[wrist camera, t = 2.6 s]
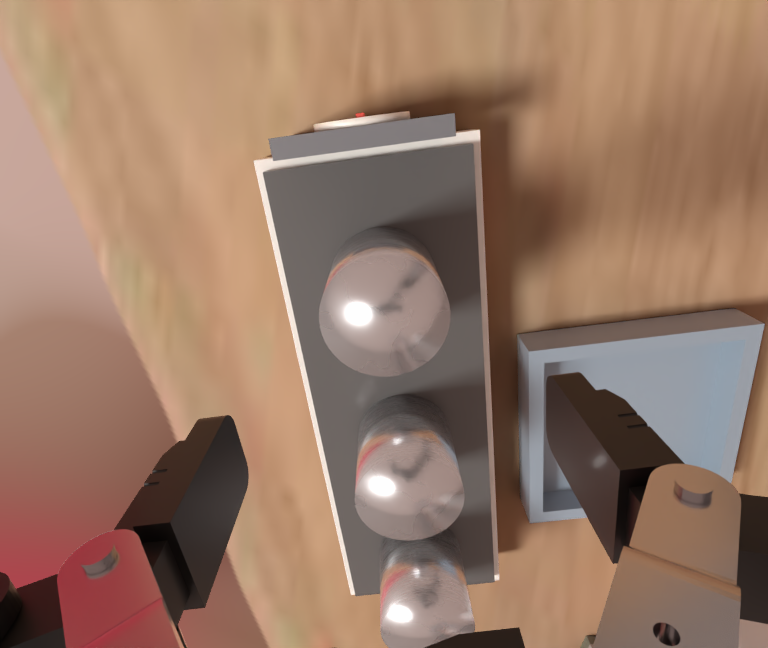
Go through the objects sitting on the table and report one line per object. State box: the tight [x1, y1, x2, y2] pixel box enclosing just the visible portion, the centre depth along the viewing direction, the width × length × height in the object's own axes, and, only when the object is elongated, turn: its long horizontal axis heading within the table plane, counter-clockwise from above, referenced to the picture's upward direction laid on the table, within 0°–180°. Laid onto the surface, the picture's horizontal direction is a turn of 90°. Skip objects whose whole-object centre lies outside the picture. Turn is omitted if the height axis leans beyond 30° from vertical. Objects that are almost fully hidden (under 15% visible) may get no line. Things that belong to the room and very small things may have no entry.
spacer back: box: [380, 528, 475, 648], centre depth 27 cm, size 5×5×5 cm
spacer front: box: [319, 227, 450, 377], centre depth 20 cm, size 5×5×5 cm
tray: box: [517, 308, 765, 523], centre depth 27 cm, size 12×12×2 cm
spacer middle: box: [355, 394, 464, 540], centre depth 24 cm, size 5×5×5 cm
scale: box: [254, 111, 499, 596], centre depth 25 cm, size 29×10×5 cm, turn 7°
